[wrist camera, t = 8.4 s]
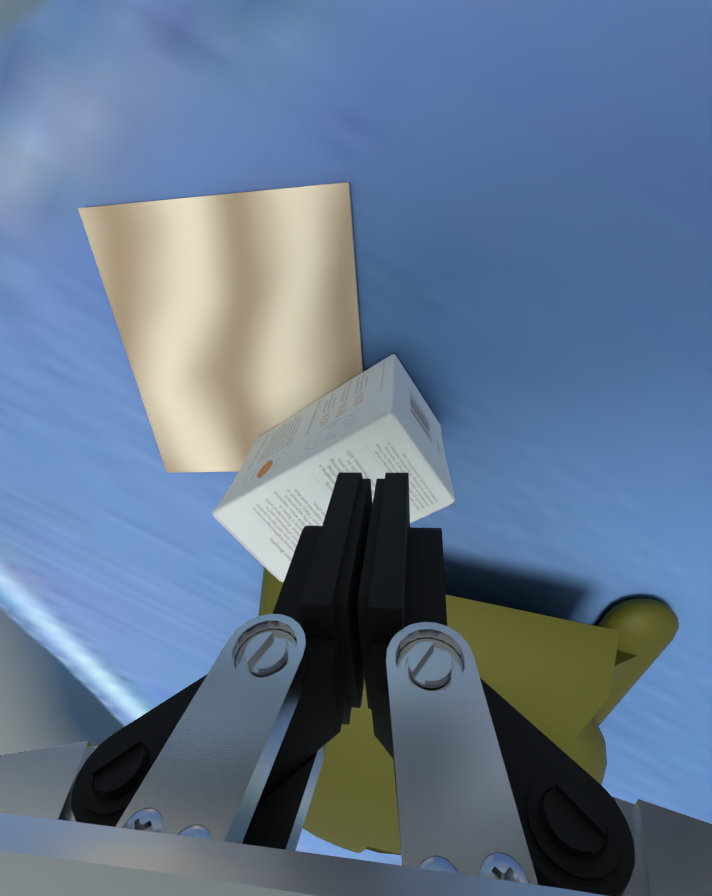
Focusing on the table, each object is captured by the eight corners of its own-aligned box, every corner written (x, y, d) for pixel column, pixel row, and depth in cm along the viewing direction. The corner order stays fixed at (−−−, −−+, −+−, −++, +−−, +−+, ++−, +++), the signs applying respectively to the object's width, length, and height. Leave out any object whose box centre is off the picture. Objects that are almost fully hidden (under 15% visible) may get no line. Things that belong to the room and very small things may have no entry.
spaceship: (274, 509, 32) (227, 620, 24) (682, 595, 33) (781, 735, 24) (244, 752, 50) (211, 866, 41) (511, 806, 50) (533, 931, 41)
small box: (444, 425, 27) (308, 497, 30) (394, 349, 25) (255, 436, 28) (458, 507, 20) (280, 587, 23) (390, 411, 18) (207, 516, 21)
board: (349, 182, 21) (348, 182, 21) (370, 464, 29) (369, 468, 29) (84, 208, 23) (78, 208, 23) (170, 468, 31) (166, 472, 30)
